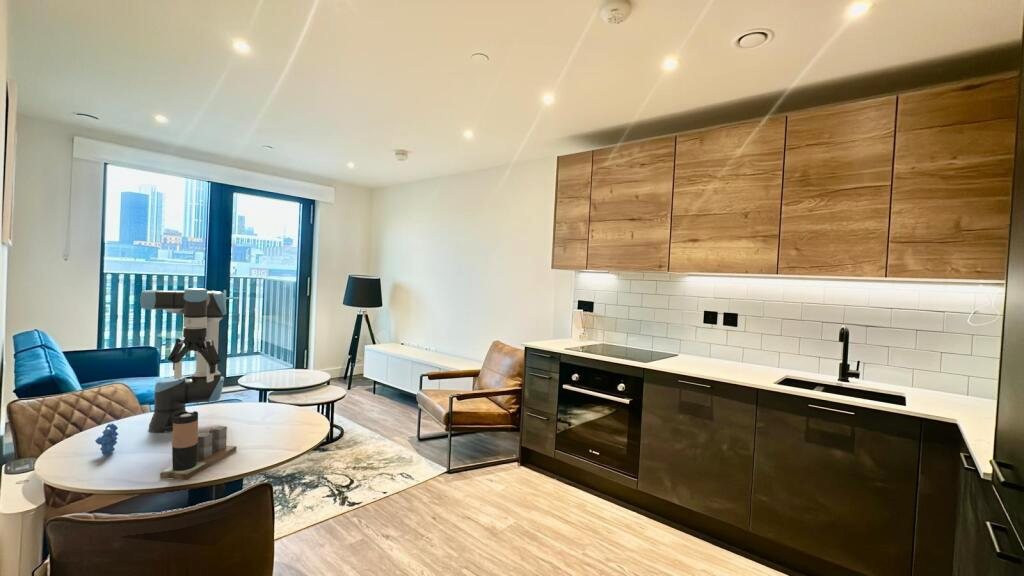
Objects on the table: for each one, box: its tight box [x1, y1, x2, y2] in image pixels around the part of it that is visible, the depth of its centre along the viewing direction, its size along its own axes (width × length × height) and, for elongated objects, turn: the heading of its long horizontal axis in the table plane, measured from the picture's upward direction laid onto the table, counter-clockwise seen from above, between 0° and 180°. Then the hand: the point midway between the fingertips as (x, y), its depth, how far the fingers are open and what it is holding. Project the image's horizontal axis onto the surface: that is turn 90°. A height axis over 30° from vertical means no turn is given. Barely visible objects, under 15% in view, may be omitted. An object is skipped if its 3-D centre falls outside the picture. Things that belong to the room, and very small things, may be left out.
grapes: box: [94, 422, 119, 457], centre depth 174 cm, size 12×7×12 cm, turn 29°
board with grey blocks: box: [159, 425, 237, 481], centre depth 170 cm, size 10×26×11 cm, turn 176°
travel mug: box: [171, 410, 199, 471], centre depth 162 cm, size 8×8×20 cm
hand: (194, 380), depth 173 cm, fingers open, 13 cm apart
